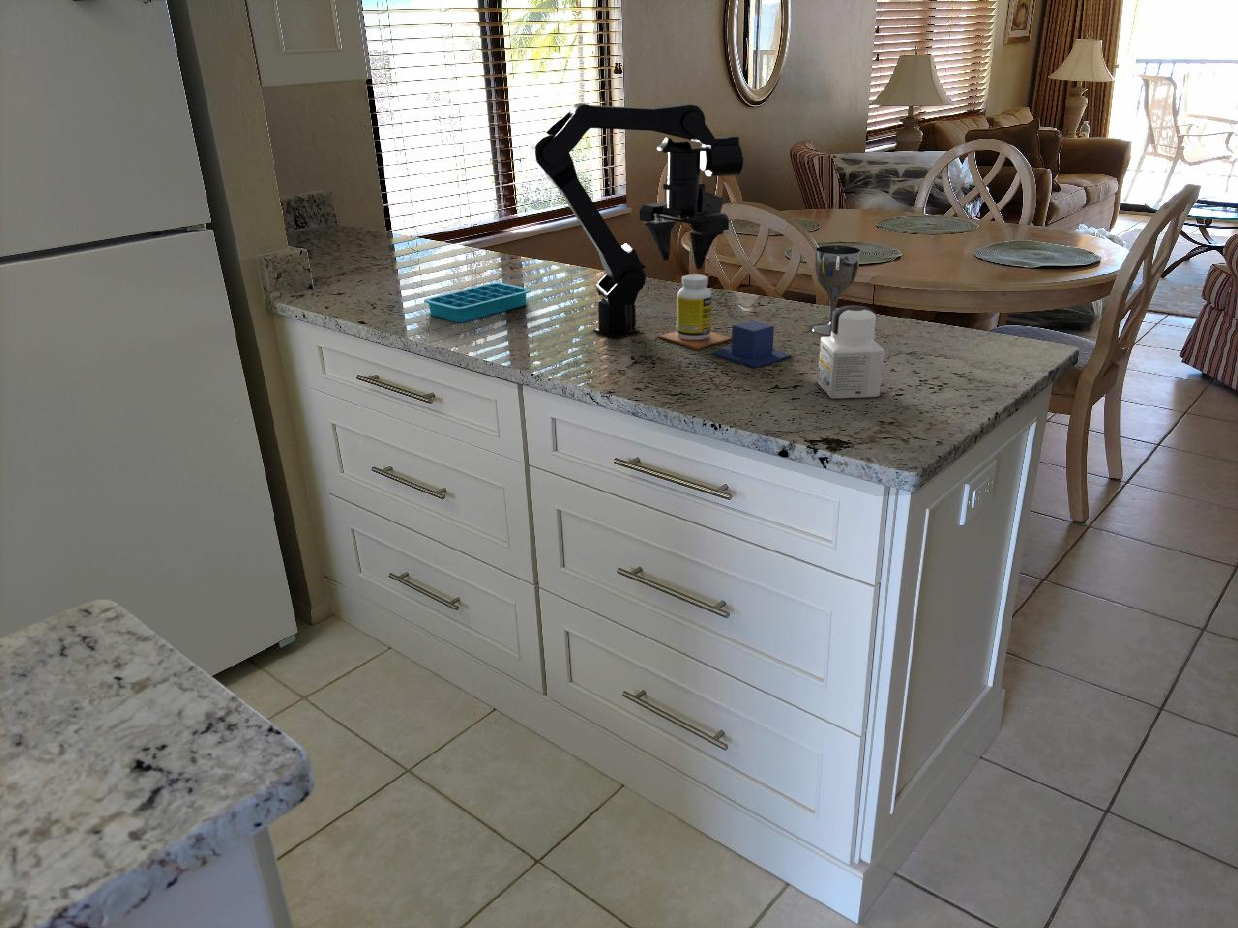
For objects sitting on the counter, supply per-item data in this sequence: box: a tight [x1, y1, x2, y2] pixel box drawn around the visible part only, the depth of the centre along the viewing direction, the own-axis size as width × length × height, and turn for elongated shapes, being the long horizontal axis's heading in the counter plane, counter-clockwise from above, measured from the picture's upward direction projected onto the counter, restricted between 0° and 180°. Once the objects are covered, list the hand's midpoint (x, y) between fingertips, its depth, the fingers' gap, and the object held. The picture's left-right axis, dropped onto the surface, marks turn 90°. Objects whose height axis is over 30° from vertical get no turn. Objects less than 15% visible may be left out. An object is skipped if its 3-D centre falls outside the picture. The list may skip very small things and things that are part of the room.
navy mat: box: [712, 346, 792, 369], centre depth 166 cm, size 9×10×1 cm
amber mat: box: [658, 330, 732, 350], centre depth 176 cm, size 9×10×1 cm
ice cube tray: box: [423, 282, 532, 323], centre depth 196 cm, size 12×20×3 cm, turn 138°
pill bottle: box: [676, 273, 712, 340], centre depth 174 cm, size 6×6×11 cm
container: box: [817, 305, 885, 400], centre depth 147 cm, size 8×8×13 cm
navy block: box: [731, 319, 775, 359], centre depth 165 cm, size 5×5×5 cm
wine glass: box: [811, 245, 861, 336], centre depth 177 cm, size 8×8×15 cm
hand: (682, 264), depth 179 cm, fingers open, 9 cm apart
